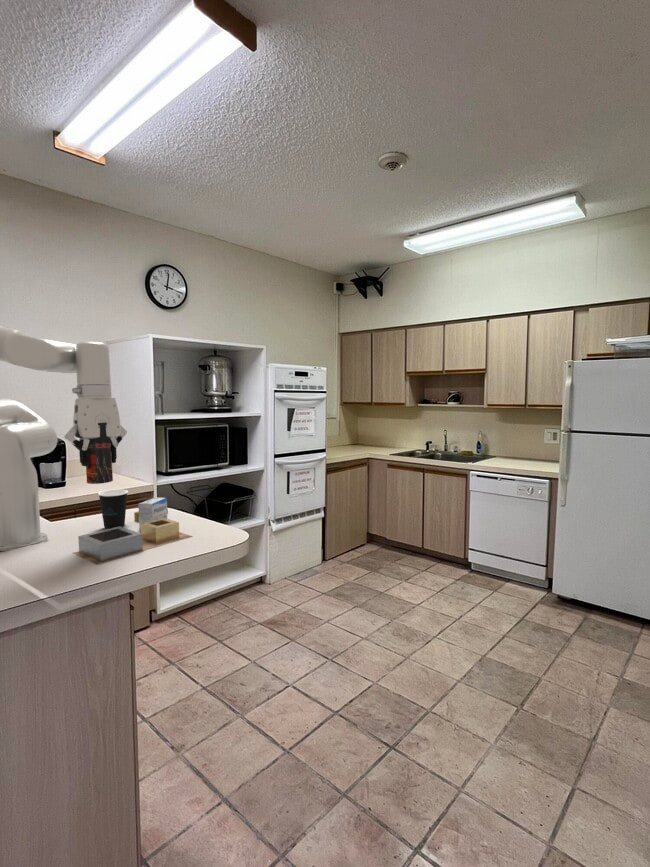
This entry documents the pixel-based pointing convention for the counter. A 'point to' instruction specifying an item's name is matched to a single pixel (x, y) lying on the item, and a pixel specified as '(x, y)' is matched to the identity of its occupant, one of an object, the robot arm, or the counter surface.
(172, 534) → the tan wooden open box
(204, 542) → the counter surface
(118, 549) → the grey open tray
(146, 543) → the fitting board
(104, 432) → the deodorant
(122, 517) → the dixie cup
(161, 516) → the medicine box
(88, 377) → the robot arm
